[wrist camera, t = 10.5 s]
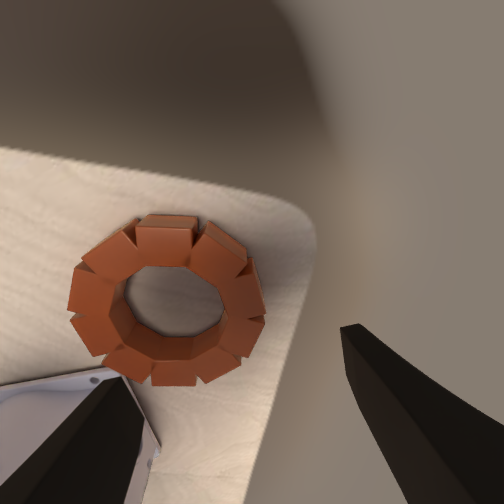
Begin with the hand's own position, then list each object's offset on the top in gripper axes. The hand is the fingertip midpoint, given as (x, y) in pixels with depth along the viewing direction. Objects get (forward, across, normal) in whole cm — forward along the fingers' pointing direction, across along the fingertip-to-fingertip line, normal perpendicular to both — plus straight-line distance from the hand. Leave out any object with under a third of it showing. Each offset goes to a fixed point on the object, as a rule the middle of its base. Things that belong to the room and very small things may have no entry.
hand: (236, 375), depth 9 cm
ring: (+5, +3, 0) cm, 6 cm away
